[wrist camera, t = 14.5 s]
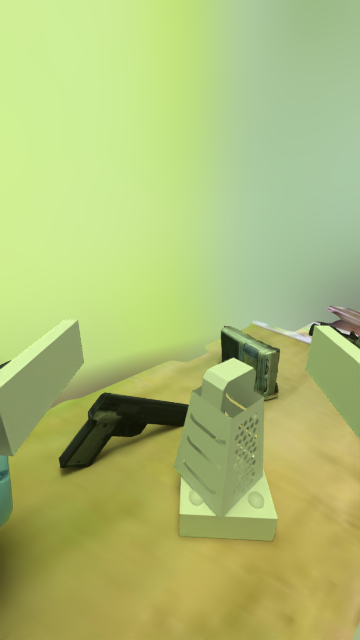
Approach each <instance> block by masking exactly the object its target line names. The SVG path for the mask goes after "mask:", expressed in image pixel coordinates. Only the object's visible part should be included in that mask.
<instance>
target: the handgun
mask: <svg viewBox="0 0 360 640" xmlns="http://www.w3.org/2000/svg"><path fill="white" fill-rule="evenodd" d="M188 407H189V405H188V404H181V403H174V402H167V401H160V400H153V399H146V398H139V397H133V396H126V395H119V394H112V393H103V394H101V395H100V397H99V398H98V399H97V401H96V402H95V403H94V405H93V406H92V407H91V409H90V410H89V411H88V420H87V422H86V423H85V424H84V426H83V427H82V428H81V429H80V431H79V432H78V433H77V435H76V436H75V437H74V439H73V440H72V441H71V443H70V444H69V445H68V447H67V448H66V449H65V451H64V452H63V453H62V455H61V456H60V458H59V462H60V468H76V467H89V466H90V465H91V464H92V463H93V461H94V460H95V458H96V457H97V456H98V454H99V453H100V452H101V450H102V449H103V447H104V446H105V445H106V443H107V442H108V441H109V439H110V438H111V437H112V436H118V437H133V436H136V435H138V434H141V432H142V431H143V429H144V428H145V426H146V425H147V424H158V425H171V426H184V424H185V420H186V415H187V411H188Z"/></svg>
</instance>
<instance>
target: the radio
mask: <svg viewBox="0 0 360 640" xmlns="http://www.w3.org/2000/svg"><path fill="white" fill-rule="evenodd" d="M221 347H222V362H218V364H221V363H223V362H225V361H227V360H229V359H232V358H235V359H237V360H239V361H241V362H243V363H245V364H247V365H249V366H251V367H253V368H254V369H255V371H256V378H255V384H254V390H253V391H255V392H256V393H258V394H260V395H261V396H263V397H264V400H267V399H272V398H275V397H278V396H277V393H278V391H279V390H278V386H277V383H276V378H277V372H278V362H279V354H280V349H279V348H274V347H272V346H270V345H267V344H264V343H263V342H261V341H258V340H256V339H254V338H253V337H251V336H250V335H248V334H245V333H243V332H241V331H239V330H238V329H236V328H234V327H231V326H224V328H223V329H222V330H221Z"/></svg>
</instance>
